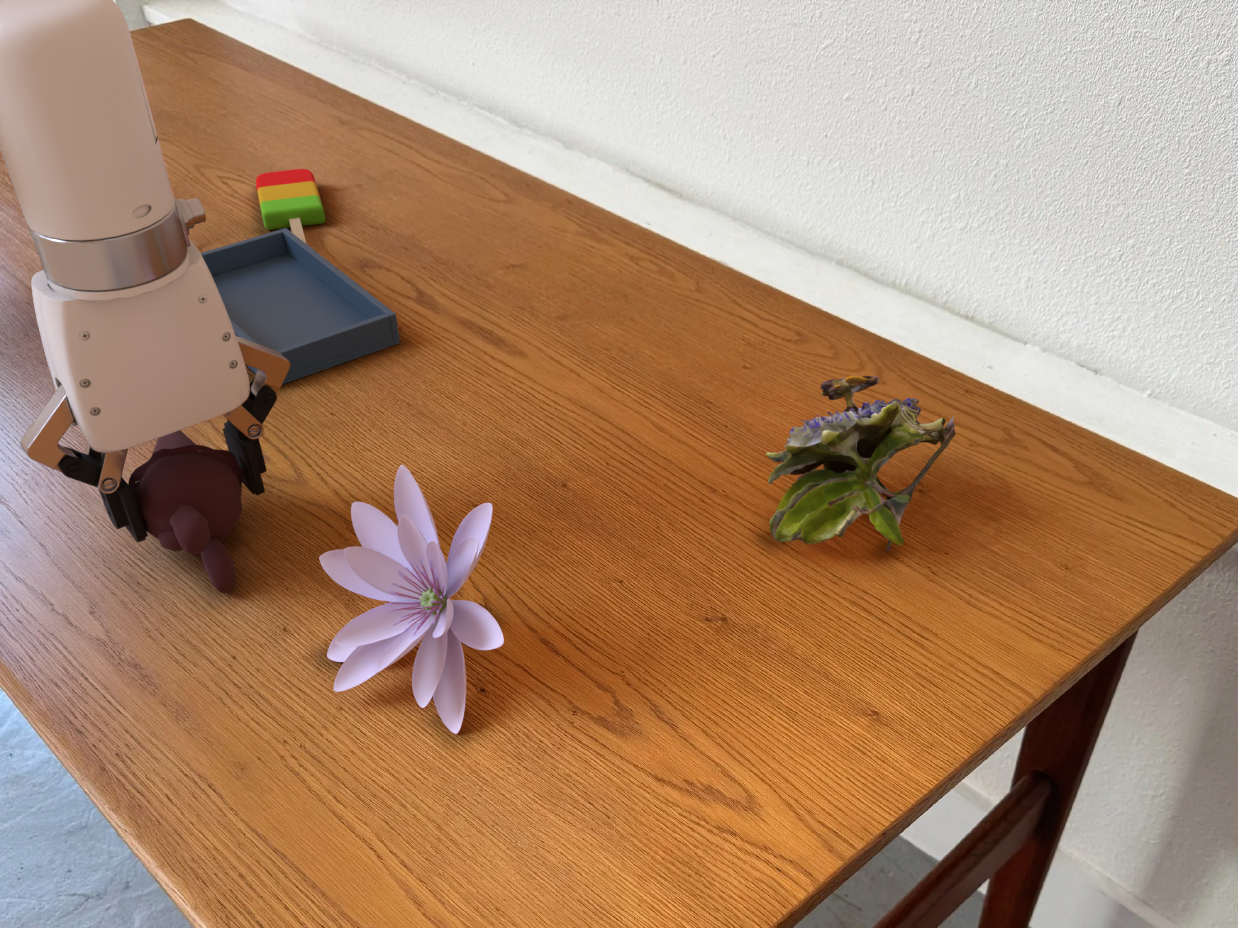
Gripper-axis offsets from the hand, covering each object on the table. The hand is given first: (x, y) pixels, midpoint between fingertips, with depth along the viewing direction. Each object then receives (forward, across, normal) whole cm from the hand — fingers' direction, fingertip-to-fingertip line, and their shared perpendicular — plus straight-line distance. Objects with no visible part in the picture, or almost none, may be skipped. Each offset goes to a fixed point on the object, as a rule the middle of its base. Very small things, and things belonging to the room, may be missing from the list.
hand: (193, 505), depth 79 cm
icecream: (+2, 0, 0) cm, 3 cm away
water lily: (+3, -5, +19) cm, 20 cm away
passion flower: (+3, -35, +25) cm, 43 cm away
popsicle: (+2, -26, -39) cm, 47 cm away
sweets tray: (+2, -17, -23) cm, 29 cm away
